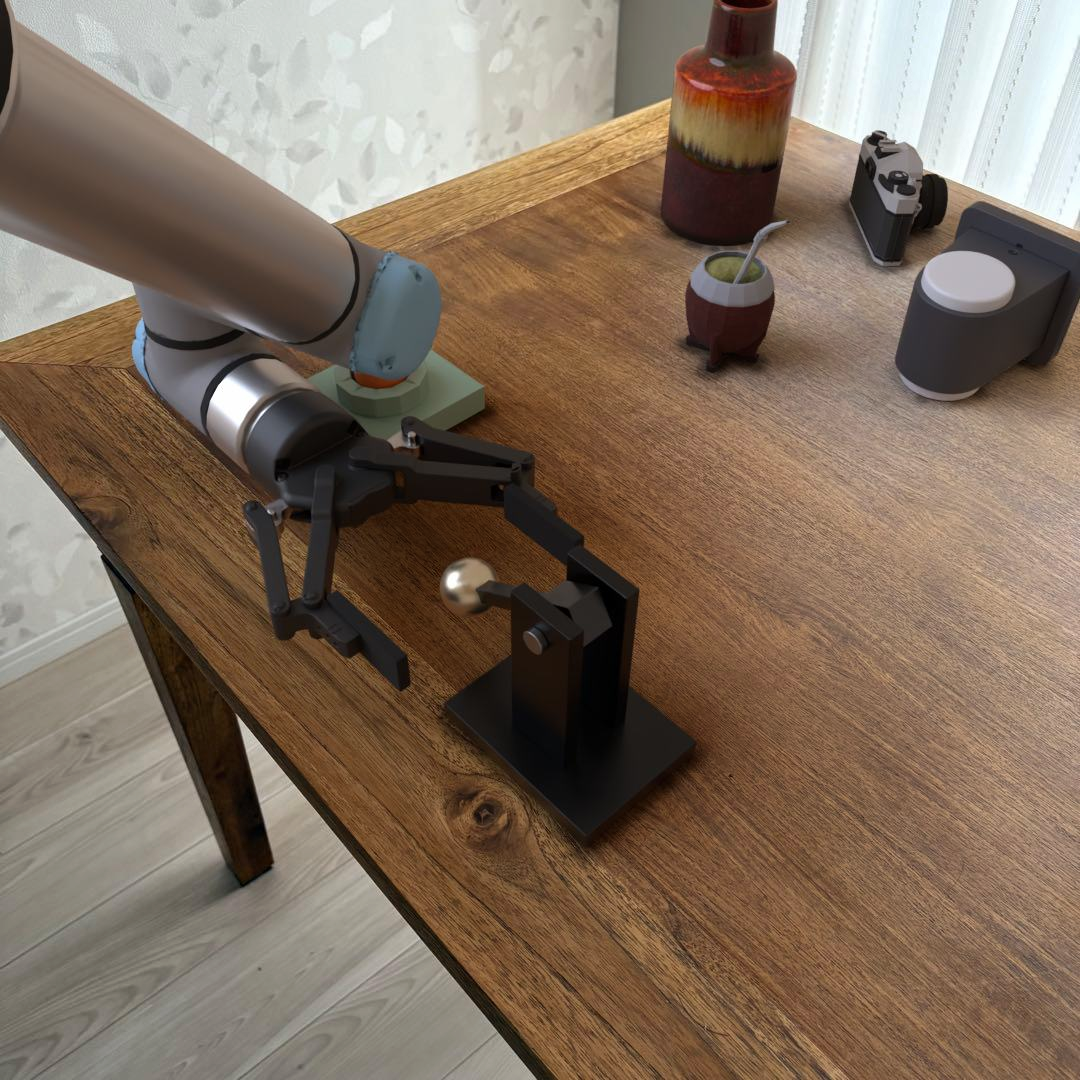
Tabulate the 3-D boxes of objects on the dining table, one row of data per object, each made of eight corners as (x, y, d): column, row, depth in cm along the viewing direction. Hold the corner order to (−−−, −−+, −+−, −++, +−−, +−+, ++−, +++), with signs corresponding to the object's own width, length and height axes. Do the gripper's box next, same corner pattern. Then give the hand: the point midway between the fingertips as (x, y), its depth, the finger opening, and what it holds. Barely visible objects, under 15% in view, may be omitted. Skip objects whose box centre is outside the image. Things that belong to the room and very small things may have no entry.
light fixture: (854, 371, 92) (880, 258, 84) (946, 304, 98) (978, 192, 90) (969, 435, 86) (1009, 320, 78) (1059, 359, 92) (1105, 245, 84)
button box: (361, 478, 81) (355, 436, 78) (284, 414, 86) (276, 372, 83) (485, 408, 87) (484, 367, 84) (406, 352, 92) (402, 311, 89)
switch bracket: (444, 715, 67) (432, 570, 57) (553, 636, 71) (557, 490, 62) (585, 849, 60) (596, 710, 51) (694, 754, 65) (723, 610, 56)
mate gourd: (695, 319, 96) (717, 154, 85) (784, 342, 94) (818, 176, 83) (665, 365, 91) (684, 197, 80) (757, 391, 89) (789, 222, 78)
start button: (375, 397, 82) (373, 378, 81) (343, 372, 84) (341, 354, 83) (418, 375, 84) (416, 356, 83) (386, 351, 86) (384, 333, 85)
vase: (760, 188, 112) (795, -26, 98) (781, 245, 105) (823, 21, 90) (653, 190, 112) (673, -25, 97) (668, 247, 104) (691, 23, 90)
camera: (956, 267, 102) (984, 172, 96) (874, 269, 102) (896, 174, 96) (911, 207, 112) (933, 117, 106) (835, 208, 111) (853, 118, 105)
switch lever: (441, 624, 67) (419, 572, 66) (486, 594, 69) (465, 543, 68) (577, 665, 56) (553, 605, 55) (626, 628, 58) (604, 569, 57)
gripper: (434, 403, 84) (638, 552, 73) (136, 564, 72) (327, 771, 61) (429, 319, 79) (647, 467, 68) (105, 478, 67) (309, 688, 56)
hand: (496, 611), depth 65 cm, fingers open, 13 cm apart
